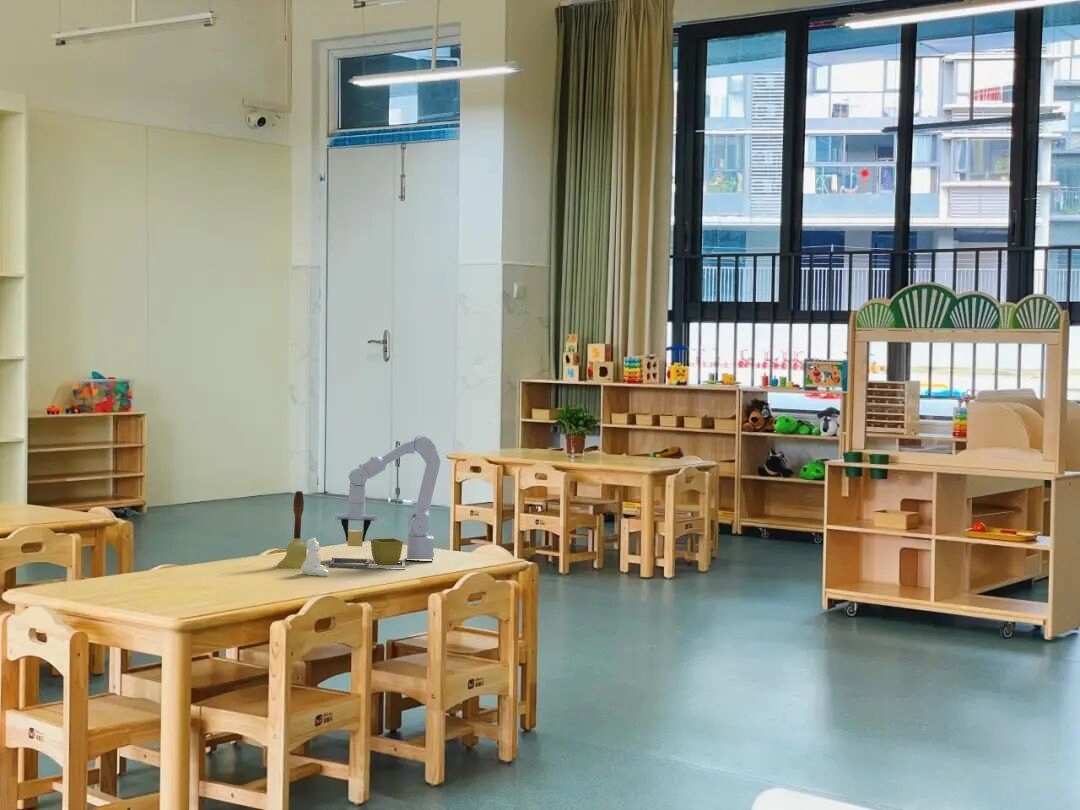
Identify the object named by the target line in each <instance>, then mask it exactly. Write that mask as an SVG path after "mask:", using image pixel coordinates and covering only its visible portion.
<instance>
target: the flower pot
mask: <svg viewBox="0 0 1080 810" xmlns="http://www.w3.org/2000/svg"><path fill="white" fill-rule="evenodd" d="M403 542H404V541H401V540H399V539H396V538H392V537H391V538H370V546H371V548H370V549H371V555H372V559H374V561H375V563H374V564H375V565H376V564H377V565H395V566H397V565H398V564H397V563H398V561H399V560H401V557H402V556H401V555H402V550H403V544H404V543H403Z"/></svg>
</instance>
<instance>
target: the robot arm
mask: <svg viewBox="0 0 1080 810" xmlns="http://www.w3.org/2000/svg"><path fill="white" fill-rule="evenodd" d="M437 450H438V449H437V447H436V445H435V443H434V442H433V441H432V439H430V438H429V437H427V436H425V435H424V434H422V435H417V436H415V437H414V438H411V439H409V440H407V441H405V442H403V443H401V444H400V445H398V446H397V447H394V448H393V449H392V450H391V451H389V452H388V453H386V454H384V455H383V456H378V455H375V456H372V455H371V457H369V460H367V461H366V462H364V463H362V464H361V463H360V464H359V465H358V467H354V468H352V469H351V471H350V472H349V475H348V479H349V481H350V483H349V489H348V508H347V509H348V512H347V513H335V516H334V517H335V518H334V520H335V521H341V522H340V523H341V526H342V528H343V531H344V535H345V542H348V531H349V521H356V522H357V521H358V522H359V521H361V522H363V525H362V527H363V529H362V530H363V538H362V543H364V542H365V539H366V535H367V532H368V530H369V527H370V525H371V523H372V522H378V515H377V514H376V515H375V514H366V513H365V511H366V483H367V481H368V480H370V479H373V478H374V477H376V476H377V475H379V474H380V473H382V472H384V471H385V470H386V468H387V465H389V464H390V463H392V462H394V461H395V460H398V459H399V458H400V457H403V456H404V455H407V454H409V455H411V454H414V455H415V454H416V453H417V454H419V455H420V456H421V458H422V459H423V460H424V462H425V468H424V472H423V475H422V479H421V484H420V489H419V493H418V498H417V500H416V505H415V509H414V510H413V514H412V516H411V517H409V520H408V528H409V530H410V531H409V532H408V533H407V550H406V556H407V558H406V557H405V561H406V560H407V559H433V560H434V557H435V551H434V544H435V543H434V542H435V541H434V540H435V539H434V536H433V535H429V533H428V531H429V529H430V524H429V517H430V507H431V504H432V500H433V495H434V491H435V486H436V482H437V478H438V475H439V470H440V465H441V459H440V455H439V453H438V451H437ZM415 452H416V453H415Z"/></svg>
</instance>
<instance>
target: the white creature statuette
mask: <svg viewBox="0 0 1080 810" xmlns="http://www.w3.org/2000/svg"><path fill="white" fill-rule="evenodd" d="M305 545H306V548H307V551H308V552H307V553H306V555H307V557H306V560H305V561H304V562H303V564H302V566H301V568H300V569H301V572H302V574H304V575H305V574H308V575H307V576H310V575H319V576H318V577H323V576H327V577H329V575H330V574H329V573H330V571H329V570H328V569H327V566H325V565H323V564H321V556H320V551H319V550H321V547H320V542H318V540H317V538H316V537H311V538H310V539H308V540H307V541H306V543H305Z"/></svg>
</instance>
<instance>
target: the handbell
mask: <svg viewBox="0 0 1080 810" xmlns="http://www.w3.org/2000/svg"><path fill="white" fill-rule="evenodd" d="M304 499H305V498H304V493H303V491H302V490H297V491H295V493H294V499H293V514H294V526H293V527H294V529H293V530H294V531H293V540H292V541H291V542H289V543H288V544H287V546H286V554H285V556H284V557H283V559H281V560H280V561H279V562H278V563H277V567H281V568H285V569H301V566H302V564H303V562H304V561H305V560H306V557H307V554H308V552H307V551H308V548H307V546H306V543H305V542H303V541H302V540H301V539H302V538H301V533H302V531H301V529H302V515H303V512H304V507H305V506H304V502H305V500H304Z"/></svg>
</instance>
